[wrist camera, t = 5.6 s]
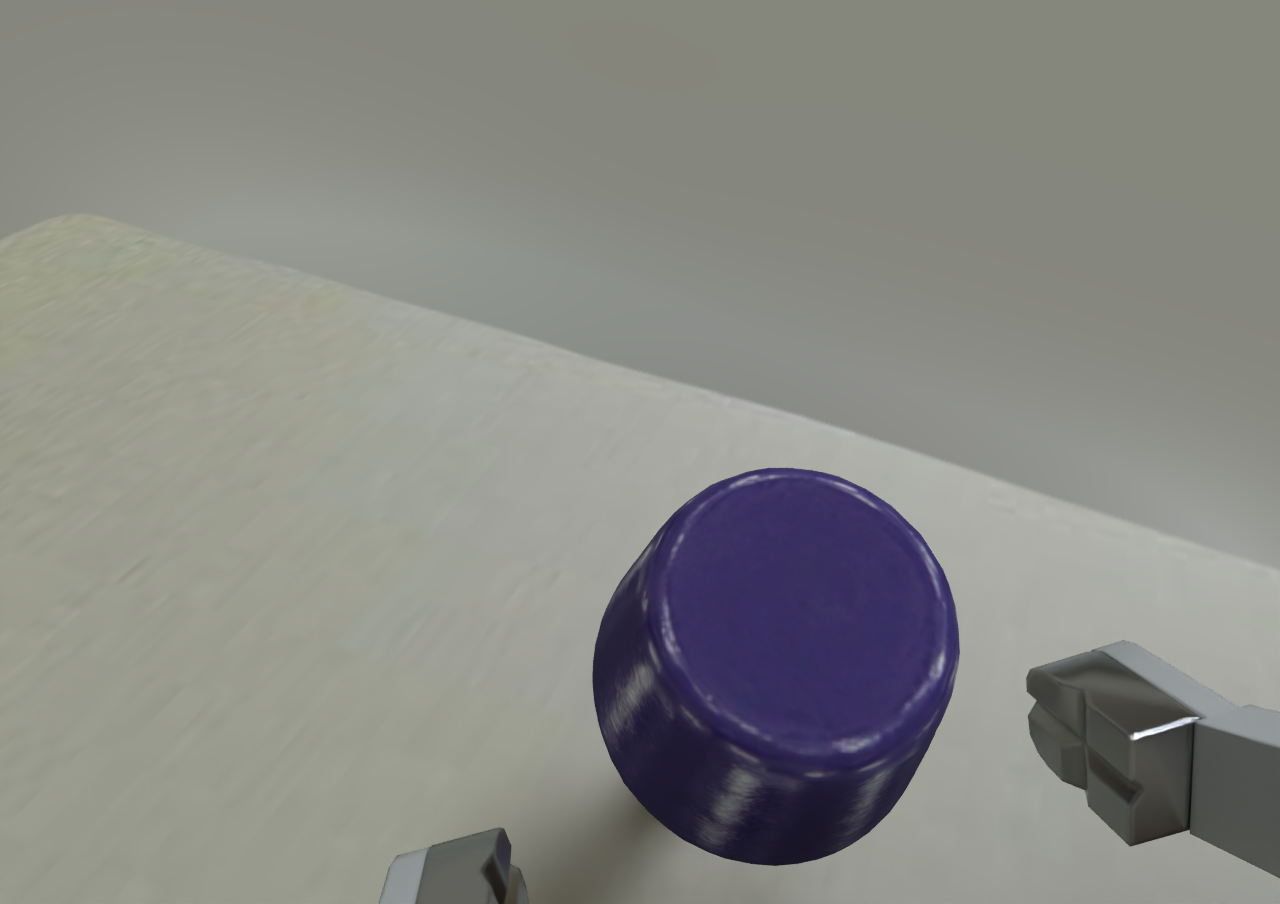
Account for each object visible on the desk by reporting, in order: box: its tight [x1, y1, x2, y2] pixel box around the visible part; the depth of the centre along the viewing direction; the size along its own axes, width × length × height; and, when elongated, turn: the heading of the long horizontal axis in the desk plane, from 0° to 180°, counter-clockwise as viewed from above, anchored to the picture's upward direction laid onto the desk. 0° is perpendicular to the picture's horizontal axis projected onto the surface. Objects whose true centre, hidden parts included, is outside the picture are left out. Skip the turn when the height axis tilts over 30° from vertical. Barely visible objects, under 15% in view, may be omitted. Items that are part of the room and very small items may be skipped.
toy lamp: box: [593, 468, 960, 866], centre depth 13 cm, size 5×5×17 cm
